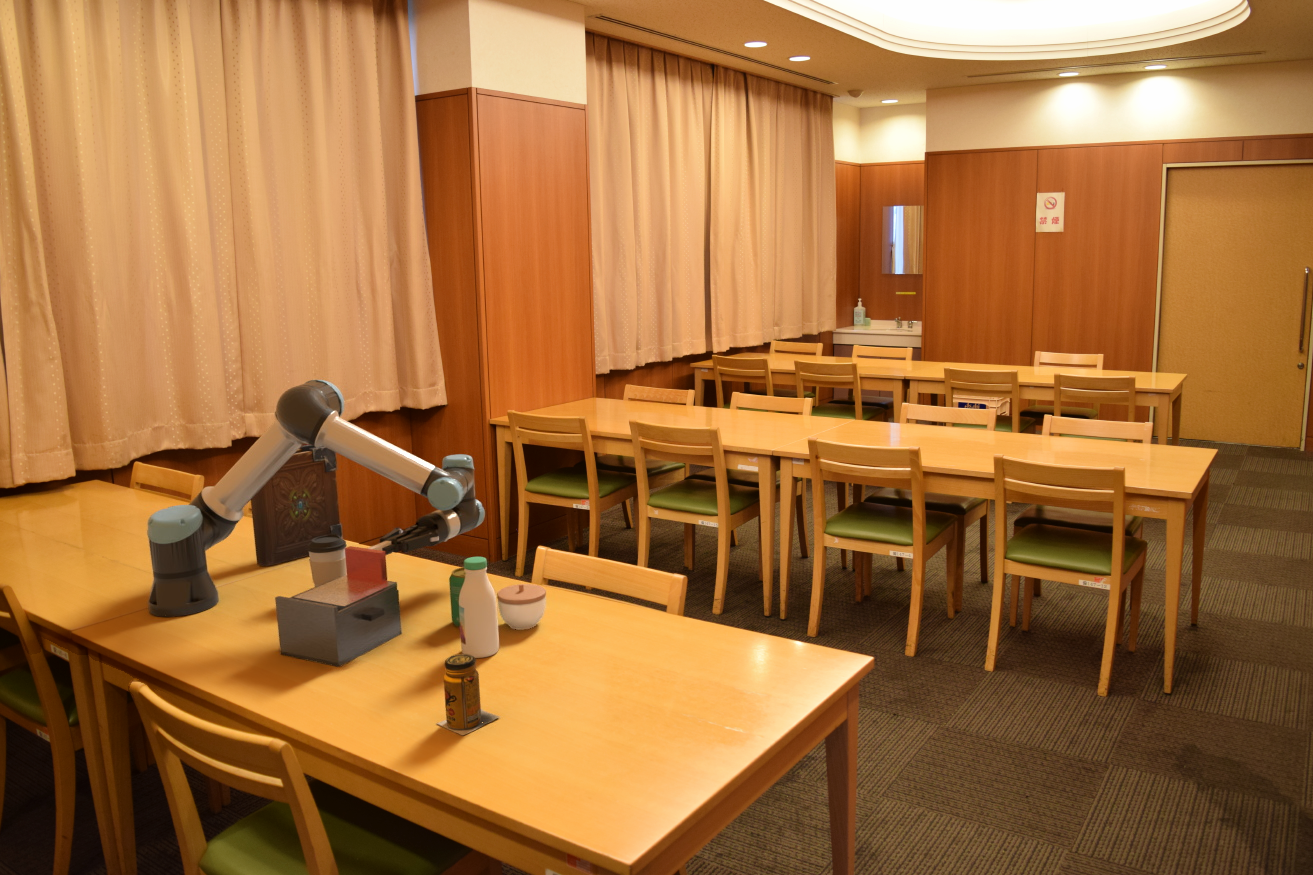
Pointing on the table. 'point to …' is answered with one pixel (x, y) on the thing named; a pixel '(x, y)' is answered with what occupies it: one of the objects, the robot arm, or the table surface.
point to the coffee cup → (327, 558)
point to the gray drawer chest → (337, 627)
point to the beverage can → (456, 593)
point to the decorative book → (296, 506)
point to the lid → (353, 580)
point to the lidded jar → (522, 605)
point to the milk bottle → (478, 611)
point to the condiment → (463, 696)
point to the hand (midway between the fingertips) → (369, 554)
